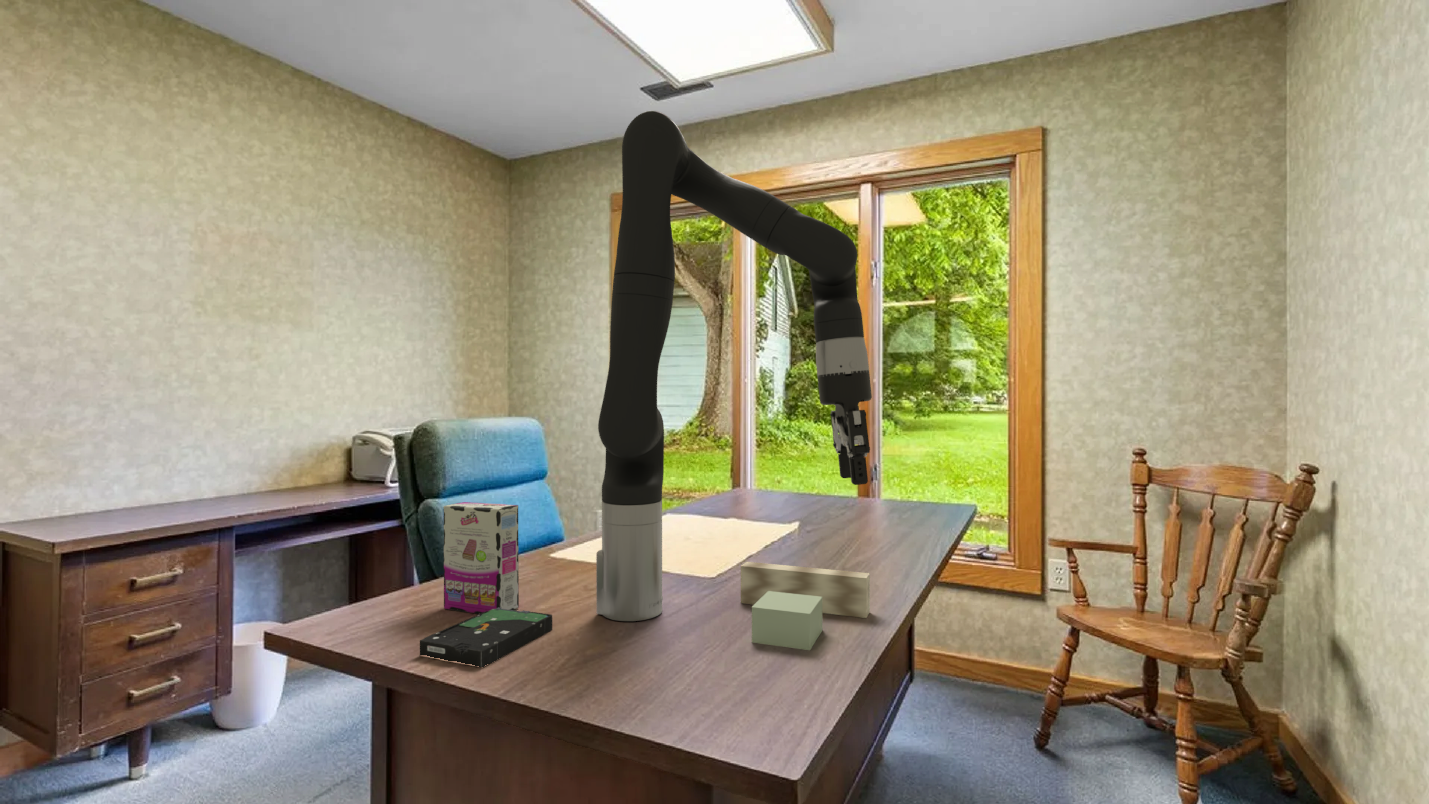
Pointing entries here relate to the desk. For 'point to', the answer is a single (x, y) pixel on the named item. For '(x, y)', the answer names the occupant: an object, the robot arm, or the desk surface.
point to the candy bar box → (480, 557)
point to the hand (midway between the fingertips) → (853, 480)
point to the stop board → (809, 586)
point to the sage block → (787, 620)
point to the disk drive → (486, 636)
